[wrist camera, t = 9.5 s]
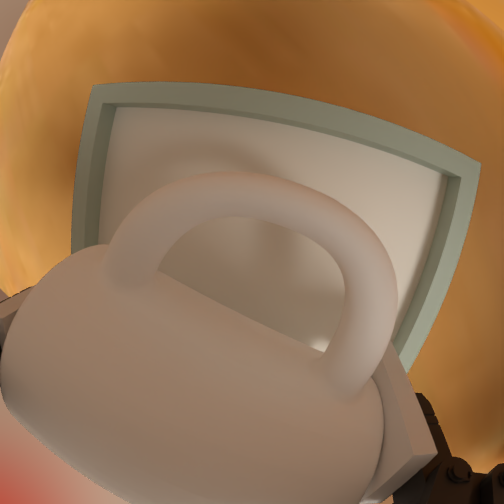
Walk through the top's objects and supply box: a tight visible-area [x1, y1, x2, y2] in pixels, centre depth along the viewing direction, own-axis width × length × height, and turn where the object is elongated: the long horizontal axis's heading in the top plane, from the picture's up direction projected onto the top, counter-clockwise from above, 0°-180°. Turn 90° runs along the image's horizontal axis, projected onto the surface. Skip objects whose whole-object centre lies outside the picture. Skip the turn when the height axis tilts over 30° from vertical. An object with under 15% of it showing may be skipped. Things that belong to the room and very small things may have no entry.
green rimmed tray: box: [71, 82, 481, 374], centre depth 15 cm, size 18×18×7 cm
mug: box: [0, 171, 398, 504], centre depth 8 cm, size 12×10×8 cm
